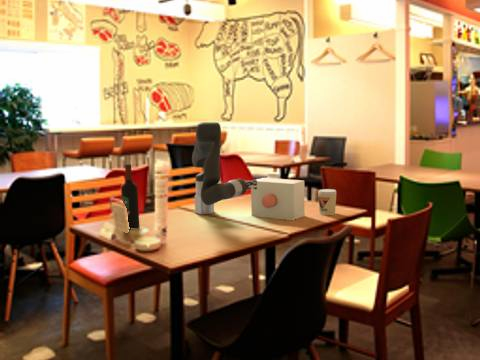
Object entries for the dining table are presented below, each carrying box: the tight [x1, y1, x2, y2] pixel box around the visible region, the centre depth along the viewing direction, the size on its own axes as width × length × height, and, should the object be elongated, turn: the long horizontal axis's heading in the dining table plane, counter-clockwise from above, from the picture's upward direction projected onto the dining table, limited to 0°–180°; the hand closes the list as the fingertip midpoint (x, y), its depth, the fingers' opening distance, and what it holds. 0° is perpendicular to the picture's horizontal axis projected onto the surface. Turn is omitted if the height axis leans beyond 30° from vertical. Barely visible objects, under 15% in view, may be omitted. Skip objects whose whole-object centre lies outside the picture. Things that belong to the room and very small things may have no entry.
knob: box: [262, 194, 277, 208], centre depth 276 cm, size 10×6×6 cm, turn 146°
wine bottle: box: [120, 163, 140, 230], centre depth 261 cm, size 8×8×30 cm
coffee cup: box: [317, 188, 337, 216], centre depth 283 cm, size 9×9×12 cm
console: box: [250, 177, 306, 221], centre depth 280 cm, size 12×24×18 cm, turn 56°
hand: (255, 182), depth 261 cm, fingers closed
